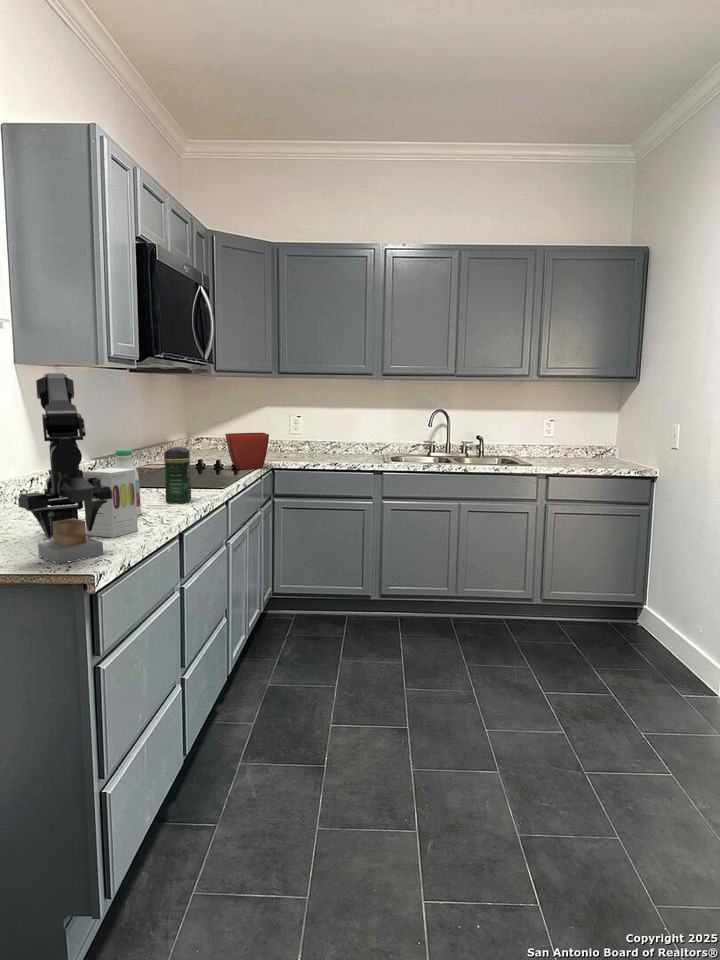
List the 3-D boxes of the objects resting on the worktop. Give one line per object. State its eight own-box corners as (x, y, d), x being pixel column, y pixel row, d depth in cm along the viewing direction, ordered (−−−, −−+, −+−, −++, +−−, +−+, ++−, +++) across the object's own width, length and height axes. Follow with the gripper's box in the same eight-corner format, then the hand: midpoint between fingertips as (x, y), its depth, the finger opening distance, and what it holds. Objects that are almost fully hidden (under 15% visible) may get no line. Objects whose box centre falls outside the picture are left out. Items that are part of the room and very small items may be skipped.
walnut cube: (75, 539, 145) (74, 518, 144) (86, 542, 141) (85, 520, 141) (53, 543, 141) (52, 521, 140) (64, 546, 138) (62, 524, 137)
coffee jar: (187, 504, 208) (185, 448, 205) (163, 504, 207) (160, 448, 205) (194, 499, 217) (191, 445, 215) (171, 499, 217) (168, 446, 214)
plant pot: (226, 466, 314) (225, 433, 311) (264, 465, 319) (263, 432, 317) (230, 471, 296) (228, 435, 293) (270, 469, 301) (269, 434, 299)
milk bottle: (110, 515, 189) (106, 449, 186) (135, 512, 194) (132, 447, 191) (119, 519, 183) (115, 451, 180) (145, 515, 188) (141, 449, 185)
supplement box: (113, 538, 159) (109, 472, 156) (85, 535, 162) (80, 471, 160) (139, 530, 167) (135, 468, 165) (112, 528, 171) (108, 466, 169)
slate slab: (82, 548, 149) (81, 535, 148) (103, 555, 142) (102, 542, 142) (38, 556, 141) (37, 543, 141) (59, 564, 135) (58, 550, 134)
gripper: (37, 472, 126) (42, 547, 129) (123, 464, 141) (126, 532, 143) (14, 468, 134) (20, 539, 136) (98, 461, 148) (102, 525, 150)
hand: (69, 534), depth 141 cm, fingers open, 9 cm apart
